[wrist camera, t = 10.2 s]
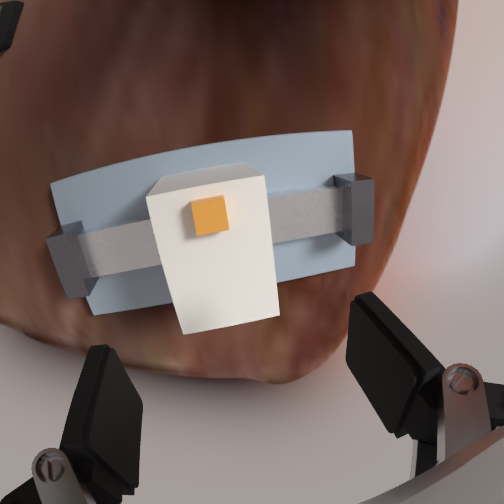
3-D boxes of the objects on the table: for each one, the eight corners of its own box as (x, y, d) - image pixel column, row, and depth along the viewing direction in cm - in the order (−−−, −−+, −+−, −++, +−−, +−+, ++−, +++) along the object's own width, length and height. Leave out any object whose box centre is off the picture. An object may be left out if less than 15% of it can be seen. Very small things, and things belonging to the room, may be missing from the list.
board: (343, 130, 23) (351, 130, 21) (347, 259, 28) (354, 265, 26) (57, 180, 20) (50, 183, 18) (97, 306, 25) (93, 315, 23)
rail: (354, 172, 23) (374, 179, 20) (355, 229, 25) (373, 241, 22) (61, 225, 20) (45, 238, 17) (79, 281, 22) (68, 299, 19)
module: (242, 161, 21) (268, 177, 14) (257, 266, 24) (283, 322, 17) (161, 177, 20) (142, 200, 13) (184, 281, 24) (183, 342, 17)
